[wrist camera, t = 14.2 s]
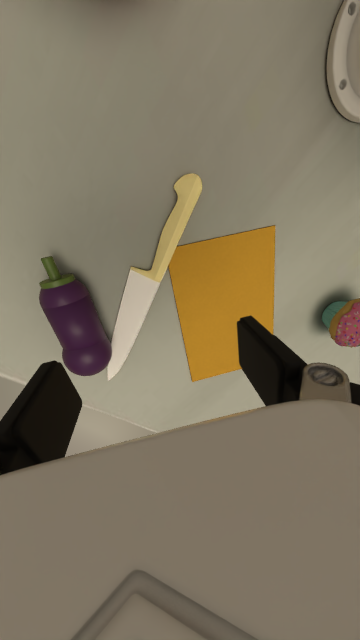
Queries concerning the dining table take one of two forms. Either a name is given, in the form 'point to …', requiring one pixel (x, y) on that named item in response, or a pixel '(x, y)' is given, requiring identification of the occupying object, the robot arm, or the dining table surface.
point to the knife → (151, 274)
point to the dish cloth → (222, 295)
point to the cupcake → (343, 322)
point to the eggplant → (74, 322)
